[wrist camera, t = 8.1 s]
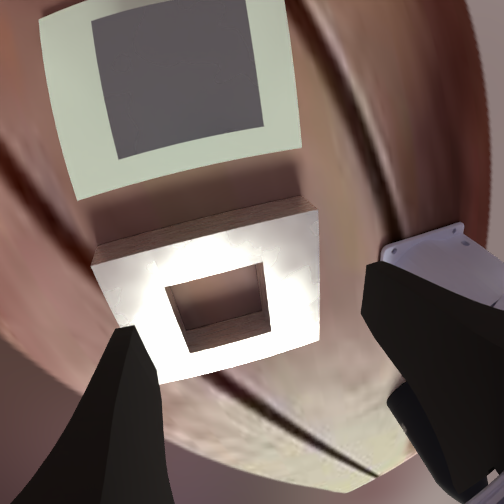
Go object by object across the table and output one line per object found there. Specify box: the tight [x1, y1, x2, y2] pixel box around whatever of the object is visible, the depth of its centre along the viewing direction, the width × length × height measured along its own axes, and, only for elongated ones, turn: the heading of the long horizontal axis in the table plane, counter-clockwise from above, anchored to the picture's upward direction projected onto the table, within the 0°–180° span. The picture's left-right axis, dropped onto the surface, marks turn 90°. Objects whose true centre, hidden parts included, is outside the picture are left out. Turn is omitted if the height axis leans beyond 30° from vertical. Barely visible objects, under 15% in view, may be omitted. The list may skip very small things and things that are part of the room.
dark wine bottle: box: [387, 382, 488, 504], centre depth 24 cm, size 6×6×30 cm
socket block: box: [91, 195, 320, 384], centre depth 19 cm, size 12×10×2 cm
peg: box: [91, 0, 264, 160], centre depth 10 cm, size 4×4×7 cm
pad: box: [39, 0, 302, 201], centre depth 13 cm, size 12×10×1 cm
